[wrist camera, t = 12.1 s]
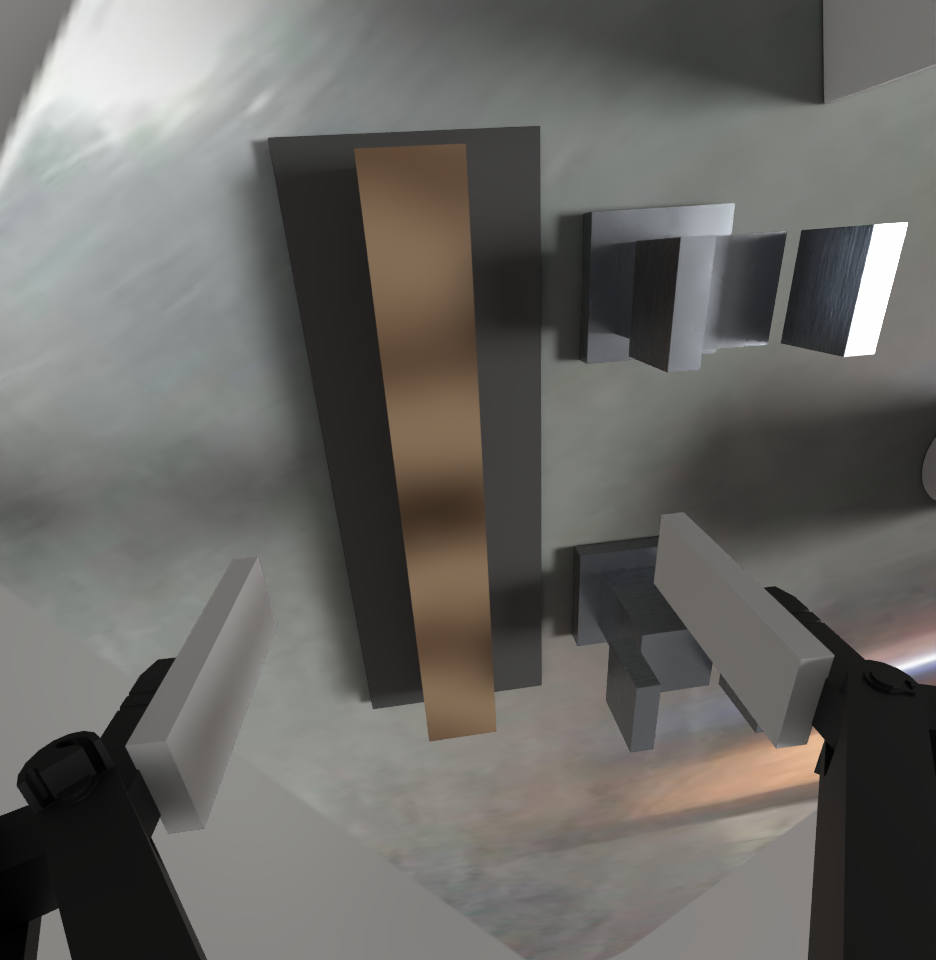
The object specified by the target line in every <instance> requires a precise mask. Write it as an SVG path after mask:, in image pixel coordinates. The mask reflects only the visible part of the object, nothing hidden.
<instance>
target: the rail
mask: <svg viewBox="0 0 936 960" xmlns="http://www.w3.org/2000/svg"><path fill="white" fill-rule="evenodd" d="M354 153H355V161H356V168H357V176H358V184H359V192H360V200H361V208H362V216H363V223H364V231H365V239H366V247H367V255H368V263H369V271H370V278H371V286H372V294H373V302H374V310H375V318H376V326H377V333H378V341H379V349H380V357H381V365H382V373H383V381H384V389H385V396H386V404H387V412H388V420H389V428H390V436H391V444H392V451H393V459H394V467H395V475H396V483H397V491H398V499H399V506H400V514H401V522H402V530H403V538H404V546H405V554H406V561H407V569H408V577H409V585H410V593H411V601H412V609H413V616H414V624H415V632H416V640H417V648H418V656H419V664H420V671H421V679H422V687H423V695H424V703H425V711H426V719H427V726H428V734H429V741H436V740H442V739H449V738H456V737H463V736H469V735H476V734H483V733H489V732H496V715H495V696H494V677H493V658H492V639H491V619H490V600H489V581H488V562H487V542H486V523H485V504H484V485H483V466H482V446H481V427H480V408H479V389H478V370H477V350H476V331H475V312H474V293H473V273H472V254H471V235H470V216H469V197H468V177H467V158H466V144H445V145H423V146H401V147H379V148H357V149H354Z"/></svg>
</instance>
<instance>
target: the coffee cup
mask: <svg viewBox="0 0 936 960" xmlns="http://www.w3.org/2000/svg"><path fill="white" fill-rule="evenodd" d="M922 481H923V485H924V488H925V490H926V492H927V493H928V495H929V496H930V497H931V498H932V499H934V500H935V501H936V437H935V438H934V440H933V442H932V443H931V445H930V447H929V449H928V451H927V453H926V456H925V459H924V463H923V468H922Z"/></svg>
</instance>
